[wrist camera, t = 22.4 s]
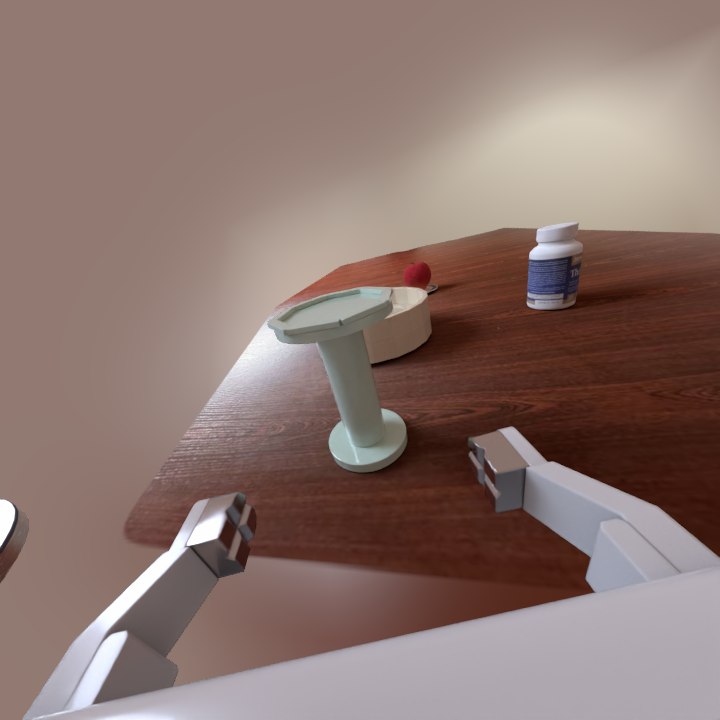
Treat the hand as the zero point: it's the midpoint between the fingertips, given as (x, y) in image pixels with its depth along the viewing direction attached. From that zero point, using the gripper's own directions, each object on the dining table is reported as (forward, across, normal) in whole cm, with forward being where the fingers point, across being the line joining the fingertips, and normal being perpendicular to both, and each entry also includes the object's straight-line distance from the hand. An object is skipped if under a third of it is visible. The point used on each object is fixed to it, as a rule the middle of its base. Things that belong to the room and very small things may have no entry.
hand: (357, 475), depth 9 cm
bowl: (+29, -3, +7) cm, 30 cm away
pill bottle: (+26, -27, +7) cm, 39 cm away
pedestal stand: (+9, 0, +7) cm, 11 cm away
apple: (+50, -16, +7) cm, 53 cm away
